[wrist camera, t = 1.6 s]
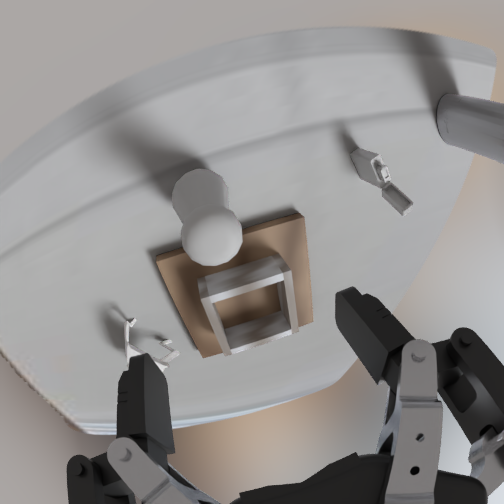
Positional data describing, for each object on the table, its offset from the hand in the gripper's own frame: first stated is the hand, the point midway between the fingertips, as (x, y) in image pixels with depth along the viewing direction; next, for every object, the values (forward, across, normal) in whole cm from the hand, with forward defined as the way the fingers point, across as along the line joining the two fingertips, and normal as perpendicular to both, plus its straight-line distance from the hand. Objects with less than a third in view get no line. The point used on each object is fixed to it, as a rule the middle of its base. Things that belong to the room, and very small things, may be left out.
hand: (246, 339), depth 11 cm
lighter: (+22, -21, +3) cm, 31 cm away
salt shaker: (+22, 0, 0) cm, 22 cm away
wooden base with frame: (+22, -2, +15) cm, 26 cm away
